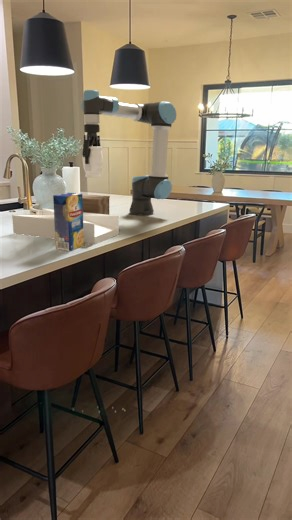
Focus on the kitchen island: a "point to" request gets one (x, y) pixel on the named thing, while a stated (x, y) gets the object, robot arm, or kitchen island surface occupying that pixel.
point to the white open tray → (44, 225)
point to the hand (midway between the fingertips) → (92, 170)
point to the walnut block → (96, 204)
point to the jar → (94, 162)
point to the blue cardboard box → (68, 221)
